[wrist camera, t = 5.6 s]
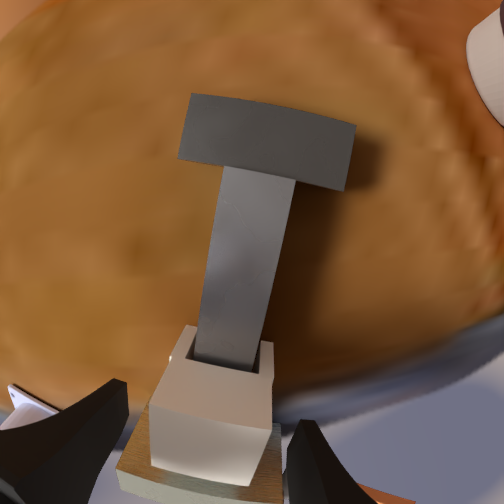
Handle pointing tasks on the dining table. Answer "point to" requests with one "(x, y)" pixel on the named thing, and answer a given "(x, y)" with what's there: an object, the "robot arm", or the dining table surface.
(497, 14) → the coffee cup
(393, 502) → the lever
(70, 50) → the dining table surface
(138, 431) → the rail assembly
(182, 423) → the carriage
